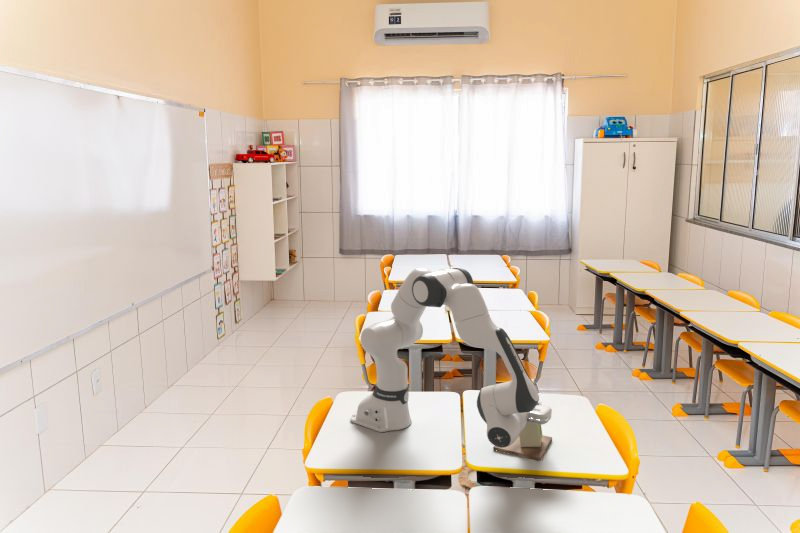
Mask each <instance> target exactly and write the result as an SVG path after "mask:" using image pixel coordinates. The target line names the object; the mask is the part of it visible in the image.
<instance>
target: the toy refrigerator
mask: <svg viewBox="0 0 800 533" xmlns="http://www.w3.org/2000/svg"><path fill="white" fill-rule="evenodd" d="M531 380H532V382H533V383H534V385H535V387H536V389H537V390H538V387H537V386H536V383H535V378H531ZM519 437H520V444H521V447H540V446H541V441H542V437H543V429H542V425H540V424H534V423H529V422H528V423H527V424H526V426H525V427H524V429H523V430H522V431H521V433H520V435H519Z"/></svg>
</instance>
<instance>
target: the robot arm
mask: <svg viewBox="0 0 800 533" xmlns="http://www.w3.org/2000/svg"><path fill="white" fill-rule="evenodd" d="M473 280H474V279H473V277H472V275H471V273H470V272H469V271H468V270H466V269H463V268H461V267H460V268H459V267H452V268H444V269H439V270H435V271H431V270H430V269H427V268H425V267H417V268H414V269H413V270H411V272H409V274H408V275H407V277H406V278H405V279H404V280H403V282H402V284H401V285H400V287H399V289H398V290H397V293H396V295H395V296H394V298H393V300H392V301H391V304H390V309H391V312H392V315H393V316H392V317H391V318H390V319H386V320H382V321H379V322H375V323H373V324H370V325H368V326H367V327H365V328H364V329H363V330H362V331H361V333H360V334H361V335H360V344H361V346H362V349H363V350H364V351H365V352H366V353H367V354H369V356H371V357H372V358H373V360H374V363H375V367H376V368H375V369H376V382H375V384H373V385H372V387H370V392H372V393H370V394H369V395H367V396H366V397H365V398H363V399H362V400H361V401H360V402H359V404H358V406H357V409H356V411H355V412H354V413H352V414H351V417H350V422H351V423H354V424H356V425H360V426H362V427H365V428H368V429H370V430H373V431H375V432H379V433H384V432H385V433H386V432H389V431H399V430H403V429H406V428H408V427H410V426H411V424H412V418H411V414H410V409H409V397H410V396H409V394H410V393H409V385H408V366H407V364H406V362H405V361H404V360H402V359H401V358H399V356H398V350H401V349H403V348H406V347H410V346H412V345H414V344H415V343H417V342H418V341H420V340H421V339H422V338H423V334H424V327H423V325H422V323H421V317H423V316H422V315H423V314H424V312H425V310H426V308H427V307H430V308H431V307H432V308H442V306H447V307H448V308H449V310H450V311H451V314H452V318H453V321H454V325H455V328H456V333H457V334H458V337H459V338H460V339H461V341H463V342H464V343H465V344H467V345H469V346H471V347H474V348H480V349H488V350H491V351H493V352H496V353H497V354H498V355H499V356H500V357H501V359H502V361H503V362H504V365H505V367H506V369H507V372H508V374H509V375H510V377H511V380H509V381H506V382H505V381H504V382H501V383H496V384H491V385H488V386H487V385H486V386H483V387H482V388H481V389H480V390H479V393H478V395H477V399H476V407H477V410H478V413H479V415H480V417H481V419H482V420H483V422H484V423H485V424H486V437H487V440H488V441H489V442H490V444H492V445H493V446H494V445H495V446H497V447H508V446H510V445H511V444H512V443H514V442H515V440H516V439H517V438H518V436H519V435H520V433H521V431H522V430H523V429H524V427H525V426H526V424H527V423H528V422H529V423H534V424H540V425H541V426H542V425H546V424H547V423H548V422H550V420H552V410H553V409H552V408H551V407H549V406H546V405H542V402H541V401H539V400H540V396H539V395H540V394H539V392H538V388H537V389H536V387H537V386H536V384H535V385H534V383H533V382H532V380H531V379H532V378H531V377H530V374H528V372H527V370H526V368H525V366H524V363H523V362H522V360H521V358H520V356H519V354H518V352H517V349H516V348H515V346H514V344H513V342H512V340H511V338H510V337H509V335H508V334H507V332H506V331H505V330H504V329H503V328H502V327H498V326H497V325H496V324H495V323H494V321H493V319H492V317H491V316H490V313H489V310H488V307H487V304H486V301H485V299H484V297H483V295H482V293H481V291H480V289H479V288H478V286H476V285H475V284H474V281H473Z"/></svg>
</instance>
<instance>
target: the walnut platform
mask: <svg viewBox="0 0 800 533" xmlns="http://www.w3.org/2000/svg"><path fill="white" fill-rule="evenodd" d="M542 435H543V434H542ZM552 441H553V437H552V436H548V435H543V437H542V441H541V446H540V447H521V444H520V437H519V436H518V438H517V439H516V440H515V442H514V443H512V444H511V445H510V446H508V447H497V446H495V445H493V447H492V448H493V449H492V450H493V451H494V450H497V451H496V452H498V451H501V452H500V453H503V452H505V453H504V454H507V453H509V455H512V456H516V457H519V458H520V457H521V458H525V459H530V460H535V461H538V462H539V461H540V462H541V461H542V459H543V457H544V456H545V454H546V452H547V450H548V449H549V447H550V444H551V443H552Z"/></svg>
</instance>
